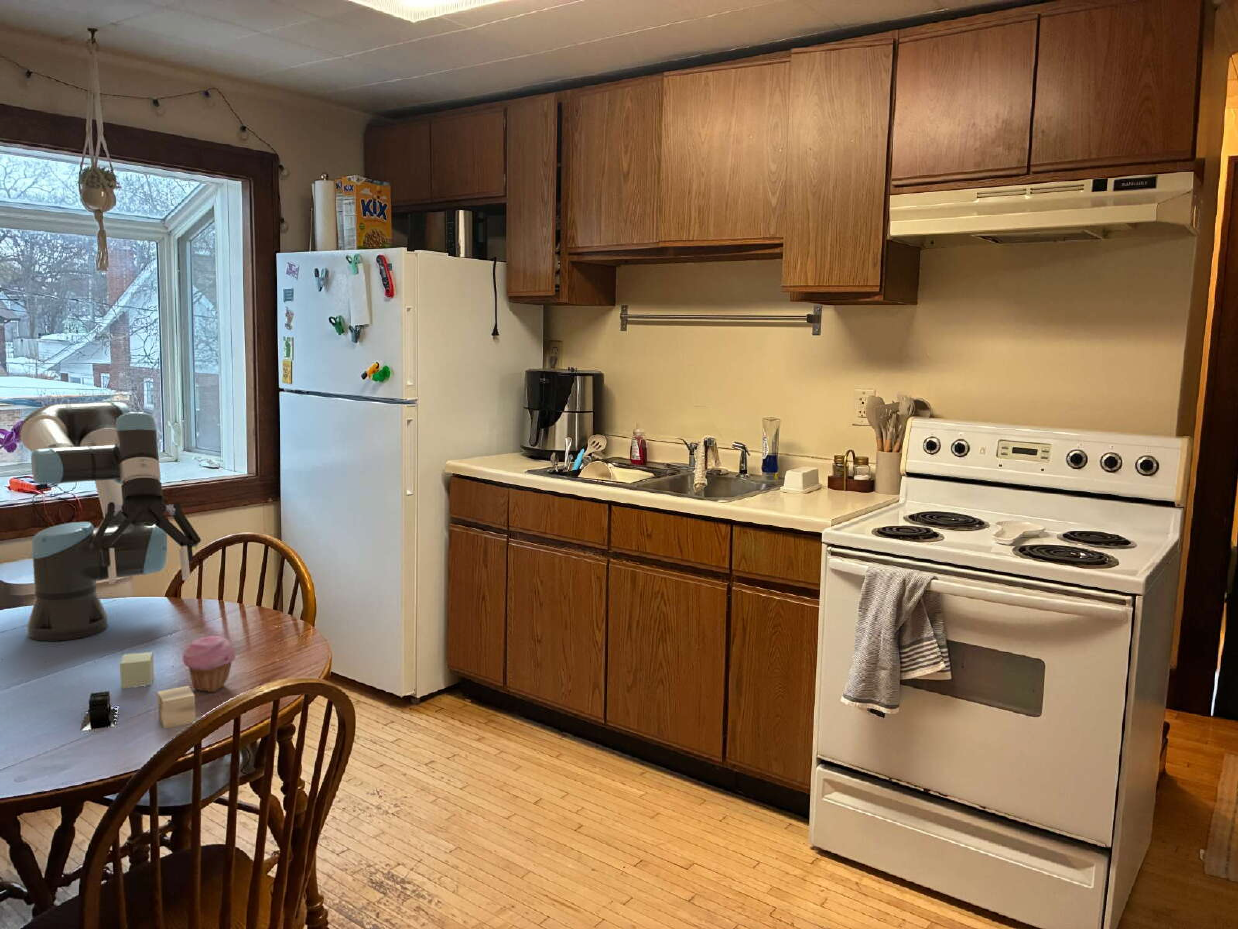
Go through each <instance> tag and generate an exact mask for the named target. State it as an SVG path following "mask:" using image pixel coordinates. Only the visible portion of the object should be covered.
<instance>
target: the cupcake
mask: <svg viewBox="0 0 1238 929" xmlns="http://www.w3.org/2000/svg"><path fill="white" fill-rule="evenodd" d="M235 658H236V653H235V648H234V647H233V645H232V643H231V642H230V640H228V638H226V637H223V636H220V635H211V636H206V637H205V636H203V637H199V638H196V639H194V640H193V641H192V642H191V643H190V644H189V645H188V646H186V648H185V650H184V651H183V656H182V662H183V663H184V665H185V666H186V667H187V668H188V671H189V674H190V680H191V683H192V684H191V685H192V688H193V689H195V690H196V689H197V691H203V692H207V691H208V692H207V693H214V692H213V691H215V692H216V691H218V690H220V689H221V688H222V687H223V686H224V685H225V684H226V682H227V680H228V679H229V676H230V673H231V668H232V662H234V660H235Z"/></svg>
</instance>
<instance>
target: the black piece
mask: <svg viewBox="0 0 1238 929" xmlns="http://www.w3.org/2000/svg"><path fill="white" fill-rule="evenodd" d="M111 707H112V706H111V693H110V691H109V690H108V691H100V692H92V693H90V696H89V699H88V709H87V710H88V711H87V712H88V713H87V714H85V713H84V716H85V715H86V716H85V717H83V719H84V720H82V722H81V727H80V729H79V731H80V732H81V731H88V730H89V729H90V730H96V729H103V728H104V729H105V728H110V726H113V727H116V726H118V724H115V722H117V723H118V719H117V717H115V716H114V715H117V714H116V713H115V712H117V710H115V709H114V708H117V707H114V708H113V709H111ZM114 719H117V721H116V720H114ZM108 726H109V727H108Z"/></svg>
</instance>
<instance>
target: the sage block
mask: <svg viewBox="0 0 1238 929" xmlns="http://www.w3.org/2000/svg"><path fill="white" fill-rule="evenodd" d="M154 671H155V669H154V652H153V651H151V652H139V653H136V652H135V653H128V654H127V653H126V654H123V656H122V658H121V660H120V663H119V672H120V675H119V676H120V685H121V686H120V687H121V688H123V689H129V688H128V687H134V688H136V687H135V686H141V685H142V686H143V685H151V686H152V684H153V681H152V680H154V678H155V672H154ZM153 677H154V678H153ZM151 683H152V684H151ZM121 688H120V689H121Z"/></svg>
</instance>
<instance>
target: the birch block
mask: <svg viewBox="0 0 1238 929" xmlns="http://www.w3.org/2000/svg"><path fill="white" fill-rule="evenodd" d="M195 698H196V697H195V693H194V692H193V691H192V689H191V688H190V685H185V686H180V687H176V688H175V687H174V688H170V689H169V688H168V689H165V690H164V689H163V690H159V691H157V707H158V719H159V721H160V723H161V725H162V727H163V729H165V730H166V729H169V728H175V727H180V726H183V724H185V725H189V724H193V723H192V722H194V721H195V720H197V719H196V701H195V700H196V699H195ZM194 723H195V722H194Z"/></svg>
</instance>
